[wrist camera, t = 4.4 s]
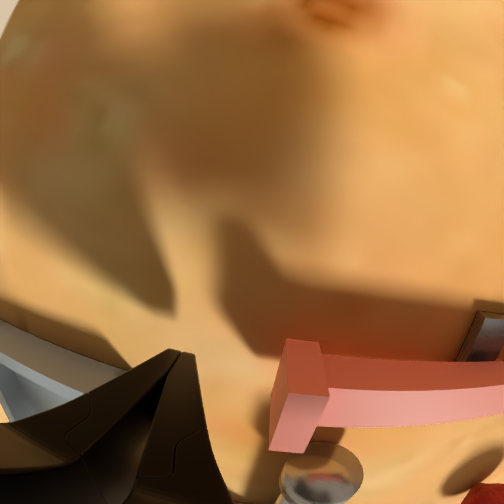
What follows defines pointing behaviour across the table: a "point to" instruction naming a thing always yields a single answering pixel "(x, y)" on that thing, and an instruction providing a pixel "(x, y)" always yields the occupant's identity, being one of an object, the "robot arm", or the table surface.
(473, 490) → the onion
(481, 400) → the keeper bar
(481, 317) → the keeper guide
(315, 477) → the pin
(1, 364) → the tray
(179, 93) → the table surface
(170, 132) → the table surface
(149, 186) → the table surface
